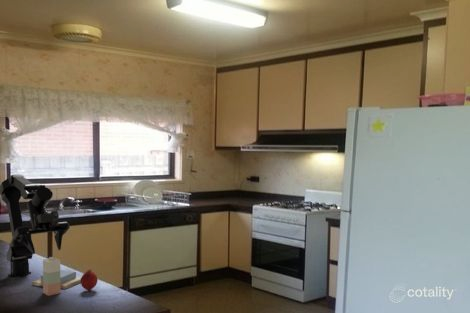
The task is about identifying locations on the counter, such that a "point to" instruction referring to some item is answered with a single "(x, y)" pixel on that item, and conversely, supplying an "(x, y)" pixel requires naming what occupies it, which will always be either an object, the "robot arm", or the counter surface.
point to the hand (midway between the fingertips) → (47, 251)
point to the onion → (89, 280)
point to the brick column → (51, 276)
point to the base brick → (64, 276)
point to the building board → (63, 285)
